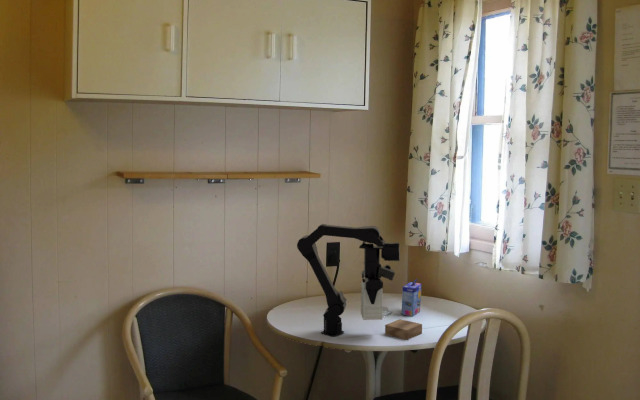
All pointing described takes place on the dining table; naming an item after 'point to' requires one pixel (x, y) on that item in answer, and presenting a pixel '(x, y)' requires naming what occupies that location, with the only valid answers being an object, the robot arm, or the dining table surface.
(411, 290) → the ink cartridge box
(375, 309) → the supplement box
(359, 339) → the dining table surface
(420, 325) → the walnut block
